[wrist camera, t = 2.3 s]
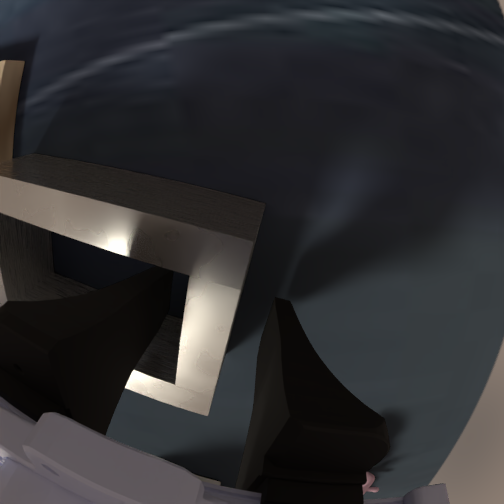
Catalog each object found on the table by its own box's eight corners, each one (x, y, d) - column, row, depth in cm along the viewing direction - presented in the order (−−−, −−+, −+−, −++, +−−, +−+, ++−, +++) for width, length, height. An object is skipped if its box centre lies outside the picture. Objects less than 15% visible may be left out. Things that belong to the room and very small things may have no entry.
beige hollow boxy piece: (225, 354, 15) (207, 416, 11) (39, 285, 15) (-2, 320, 11) (265, 203, 11) (253, 241, 8) (33, 153, 12) (-25, 169, 8)
